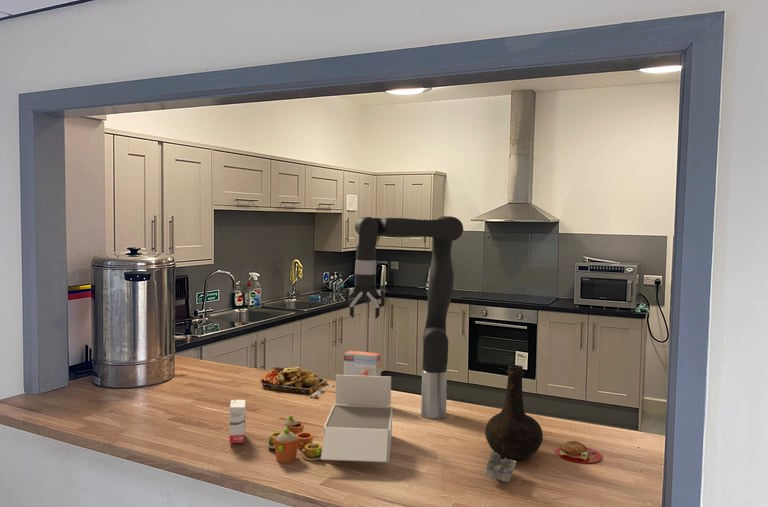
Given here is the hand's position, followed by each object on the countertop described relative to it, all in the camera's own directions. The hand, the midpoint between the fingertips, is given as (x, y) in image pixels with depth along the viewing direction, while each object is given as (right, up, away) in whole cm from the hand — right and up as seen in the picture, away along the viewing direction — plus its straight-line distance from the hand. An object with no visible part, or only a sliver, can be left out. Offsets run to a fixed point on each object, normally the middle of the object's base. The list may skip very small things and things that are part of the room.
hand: (364, 317), depth 201 cm
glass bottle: (+48, -41, -24) cm, 67 cm away
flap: (0, -23, -12) cm, 26 cm away
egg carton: (+38, -42, -40) cm, 69 cm away
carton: (-1, -39, -26) cm, 47 cm away
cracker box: (-2, -37, +22) cm, 43 cm away
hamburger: (+69, -41, -23) cm, 84 cm away
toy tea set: (-22, -39, -23) cm, 51 cm away
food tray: (-33, -36, +44) cm, 66 cm away
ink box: (-41, -38, -16) cm, 59 cm away
